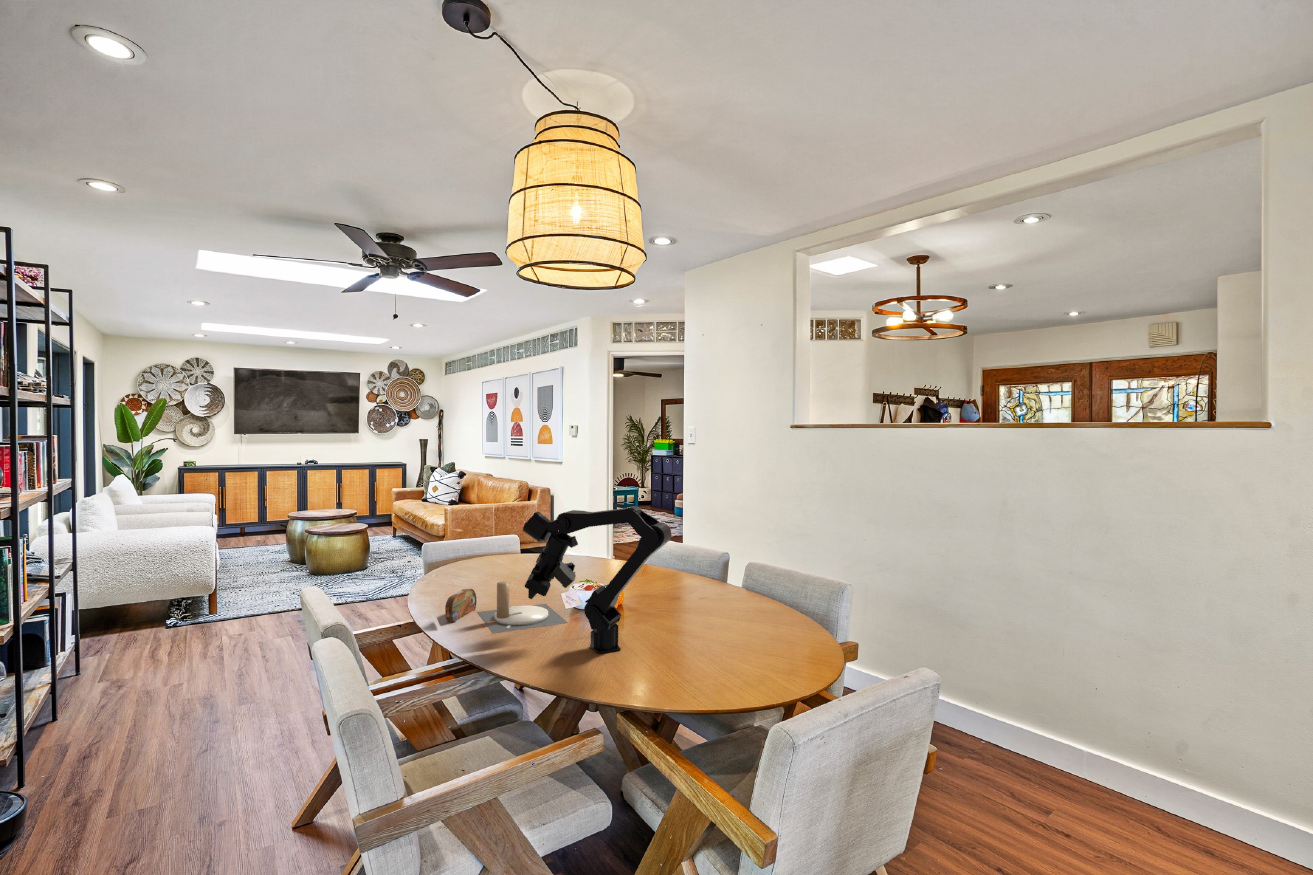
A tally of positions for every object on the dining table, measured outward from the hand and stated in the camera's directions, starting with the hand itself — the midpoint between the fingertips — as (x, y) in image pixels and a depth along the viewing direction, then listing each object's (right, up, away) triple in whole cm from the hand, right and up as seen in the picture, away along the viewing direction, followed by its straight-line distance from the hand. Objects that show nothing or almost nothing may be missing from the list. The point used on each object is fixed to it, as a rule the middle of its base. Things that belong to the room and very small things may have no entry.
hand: (530, 598), depth 177 cm
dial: (-6, -10, +15) cm, 19 cm away
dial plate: (-6, -11, +15) cm, 19 cm away
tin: (-24, -11, +16) cm, 31 cm away
